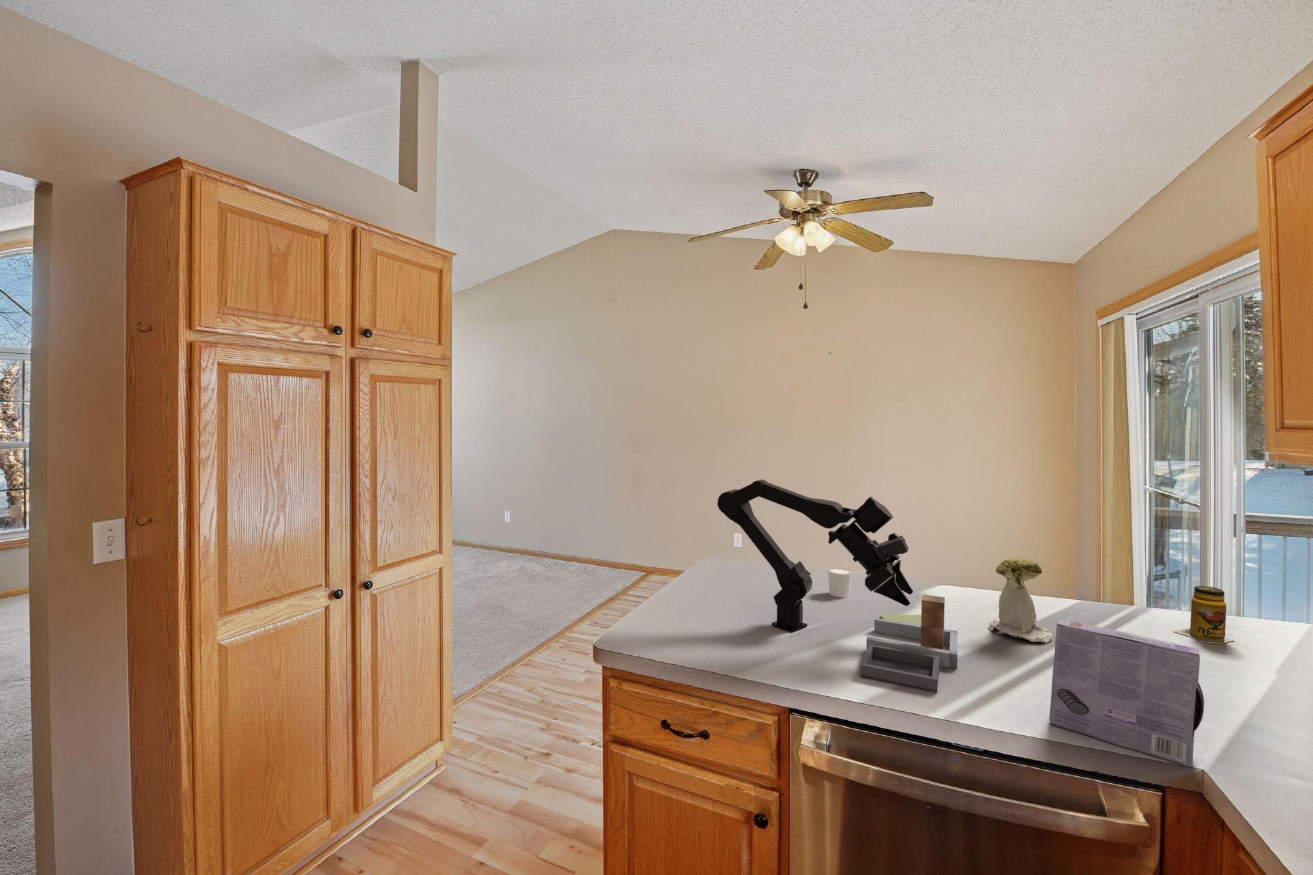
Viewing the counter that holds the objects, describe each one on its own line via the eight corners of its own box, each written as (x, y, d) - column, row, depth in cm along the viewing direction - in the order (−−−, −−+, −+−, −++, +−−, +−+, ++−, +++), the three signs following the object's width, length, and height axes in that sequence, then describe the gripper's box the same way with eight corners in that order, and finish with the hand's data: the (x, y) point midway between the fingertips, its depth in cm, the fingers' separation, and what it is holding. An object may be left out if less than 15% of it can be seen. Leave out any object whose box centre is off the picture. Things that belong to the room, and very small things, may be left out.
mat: (899, 633, 140) (899, 631, 140) (880, 617, 151) (880, 615, 151) (943, 632, 140) (943, 630, 140) (921, 616, 151) (921, 614, 151)
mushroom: (1037, 648, 131) (1040, 568, 130) (979, 630, 142) (981, 556, 141) (1060, 637, 138) (1062, 561, 137) (1002, 621, 148) (1004, 550, 148)
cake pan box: (1201, 757, 90) (1206, 645, 89) (1202, 772, 86) (1207, 655, 85) (1053, 714, 103) (1056, 616, 102) (1048, 725, 99) (1051, 624, 98)
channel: (866, 652, 129) (866, 638, 129) (875, 629, 142) (875, 617, 142) (957, 668, 120) (957, 654, 120) (957, 643, 134) (957, 630, 134)
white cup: (854, 598, 166) (855, 574, 166) (830, 598, 166) (831, 574, 166) (847, 591, 173) (847, 568, 173) (824, 590, 173) (824, 567, 173)
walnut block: (920, 653, 128) (921, 599, 128) (921, 645, 132) (922, 594, 132) (943, 657, 126) (944, 603, 126) (943, 649, 130) (944, 597, 130)
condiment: (1214, 645, 133) (1216, 593, 133) (1172, 631, 142) (1174, 583, 141) (1235, 641, 136) (1237, 591, 135) (1192, 628, 144) (1194, 581, 143)
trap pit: (860, 676, 117) (860, 664, 117) (868, 654, 127) (868, 643, 127) (937, 692, 110) (937, 679, 110) (939, 668, 121) (939, 656, 121)
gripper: (881, 531, 125) (937, 588, 120) (890, 517, 141) (939, 567, 137) (843, 562, 129) (895, 619, 124) (856, 545, 145) (903, 595, 140)
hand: (910, 598), depth 131 cm, fingers open, 9 cm apart
